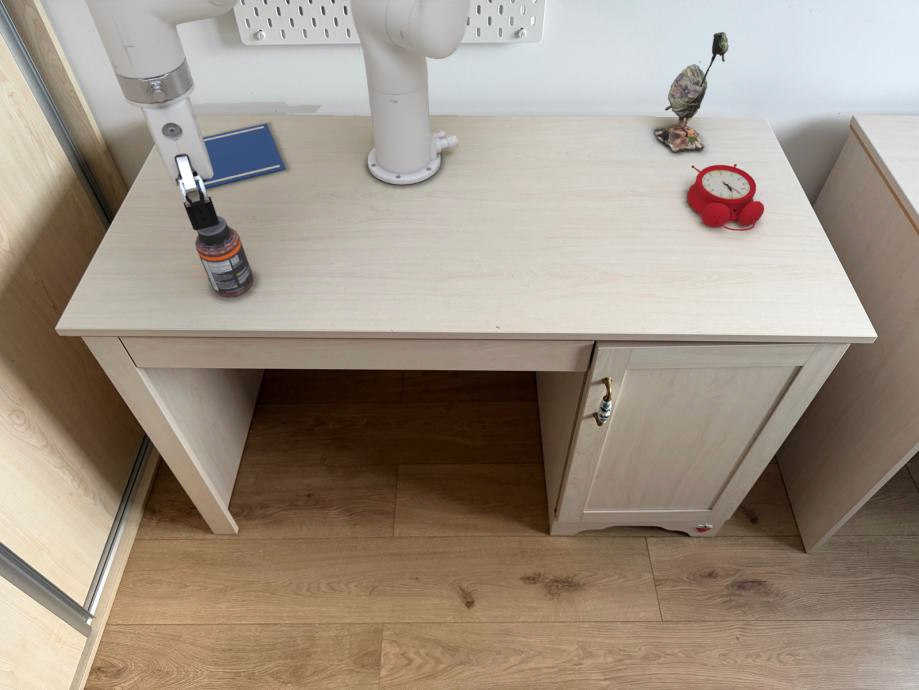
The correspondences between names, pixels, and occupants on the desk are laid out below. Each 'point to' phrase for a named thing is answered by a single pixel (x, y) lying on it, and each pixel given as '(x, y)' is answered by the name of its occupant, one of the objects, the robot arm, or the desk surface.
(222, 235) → the supplement bottle
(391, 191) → the desk surface
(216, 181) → the napkin
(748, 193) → the alarm clock
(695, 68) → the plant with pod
